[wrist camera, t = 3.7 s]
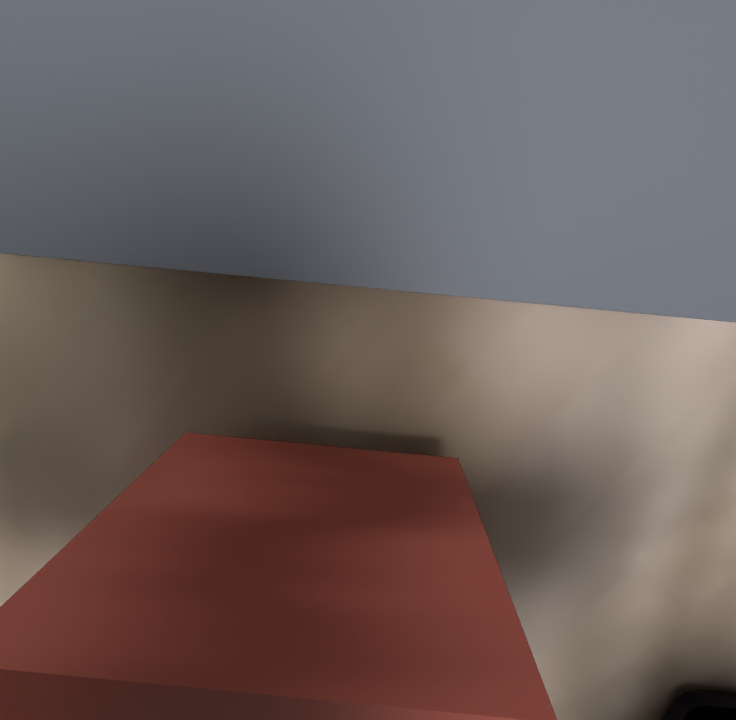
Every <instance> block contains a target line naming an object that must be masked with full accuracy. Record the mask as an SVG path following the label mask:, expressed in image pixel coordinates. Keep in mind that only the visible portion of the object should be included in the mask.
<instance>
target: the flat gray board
mask: <svg viewBox="0 0 736 720" xmlns="http://www.w3.org/2000/svg"><path fill="white" fill-rule="evenodd" d="M0 253H5V254H15V255H26V256H36V257H47V258H58V259H68V260H79V261H90V262H100V263H111V264H121V265H132V266H143V267H153V268H164V269H174V270H185V271H196V272H206V273H217V274H228V275H238V276H249V277H259V278H270V279H281V280H291V281H302V282H312V283H323V284H334V285H344V286H355V287H366V288H376V289H387V290H397V291H408V292H419V293H429V294H440V295H450V296H461V297H472V298H482V299H493V300H504V301H514V302H525V303H535V304H546V305H557V306H567V307H578V308H588V309H599V310H610V311H620V312H631V313H641V314H652V315H663V316H673V317H684V318H695V319H705V320H716V321H726V322H736V0H0Z"/></svg>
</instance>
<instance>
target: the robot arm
mask: <svg viewBox="0 0 736 720" xmlns="http://www.w3.org/2000/svg"><path fill="white" fill-rule="evenodd" d="M666 720H736V694H729V693H718V692H708V691H697V690H695V691H688V692H684V693H682V694H681V695H679V696H678V698H677V699H676V700H675V702H674V704H673V706H672V708H671V711H670V713H669V715H668V717H667V719H666Z"/></svg>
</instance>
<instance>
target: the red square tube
mask: <svg viewBox="0 0 736 720" xmlns="http://www.w3.org/2000/svg"><path fill="white" fill-rule="evenodd" d="M0 720H557V718H556V716H555V713H554V710H553V708H552V705H551V703H550V700H549V697H548V695H547V692H546V689H545V687H544V684H543V681H542V679H541V676H540V674H539V671H538V668H537V666H536V663H535V660H534V658H533V655H532V652H531V650H530V647H529V645H528V642H527V639H526V637H525V634H524V631H523V629H522V626H521V623H520V621H519V618H518V616H517V613H516V610H515V608H514V605H513V602H512V600H511V597H510V594H509V592H508V589H507V587H506V584H505V581H504V579H503V576H502V573H501V571H500V568H499V565H498V563H497V560H496V558H495V555H494V552H493V550H492V547H491V544H490V542H489V539H488V536H487V534H486V531H485V529H484V526H483V523H482V521H481V518H480V515H479V513H478V510H477V507H476V505H475V502H474V500H473V497H472V494H471V492H470V489H469V486H468V484H467V481H466V478H465V476H464V473H463V471H462V468H461V465H460V463H459V460H458V458H449V457H439V456H428V455H418V454H407V453H397V452H386V451H376V450H365V449H355V448H344V447H334V446H323V445H313V444H302V443H292V442H282V441H271V440H261V439H250V438H240V437H229V436H219V435H208V434H198V433H187V432H186V433H185V434H184V435H183V436H182V437H181V438H180V439H178V440H177V441H176V442H175V443H174V444H173V445H172V446H171V447H170V448H169V449H168V450H167V451H166V452H165V453H164V454H163V455H161V456H160V457H159V458H158V459H157V460H156V461H155V462H154V463H153V464H152V465H151V466H150V467H149V468H148V469H147V470H146V471H144V472H143V473H142V474H141V475H140V476H139V477H138V478H137V479H136V480H135V481H134V482H133V483H132V484H131V485H130V486H129V487H127V488H126V489H125V490H124V491H123V492H122V493H121V494H120V495H119V496H118V497H117V498H116V499H115V500H114V501H113V502H112V503H110V504H109V505H108V506H107V507H106V508H105V509H104V510H103V511H102V512H101V513H100V514H99V515H98V516H97V517H96V518H95V519H93V520H92V521H91V522H90V523H89V524H88V525H87V526H86V527H85V528H84V529H83V530H82V531H81V532H80V533H79V534H78V535H77V536H75V537H74V538H73V539H72V540H71V541H70V542H69V543H68V544H67V545H66V546H65V547H64V548H63V549H62V550H61V551H60V552H58V553H57V554H56V555H55V556H54V557H53V558H52V559H51V560H50V561H49V562H48V563H47V564H46V565H45V566H44V567H43V568H41V569H40V570H39V571H38V572H37V573H36V574H35V575H34V576H33V577H32V578H31V579H30V580H29V581H28V582H27V583H26V584H24V585H23V586H22V587H21V588H20V589H19V590H18V591H17V592H16V593H15V594H14V595H13V596H12V597H11V598H10V599H9V600H7V601H6V602H5V603H4V604H3V605H2V606H1V607H0Z"/></svg>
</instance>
